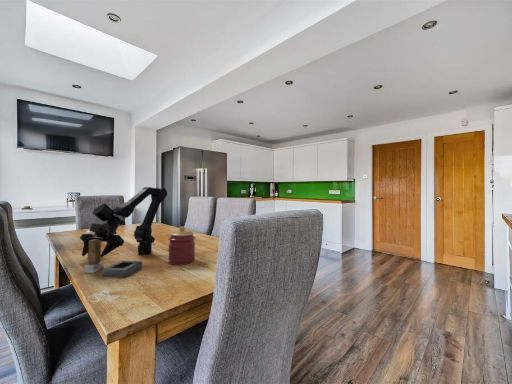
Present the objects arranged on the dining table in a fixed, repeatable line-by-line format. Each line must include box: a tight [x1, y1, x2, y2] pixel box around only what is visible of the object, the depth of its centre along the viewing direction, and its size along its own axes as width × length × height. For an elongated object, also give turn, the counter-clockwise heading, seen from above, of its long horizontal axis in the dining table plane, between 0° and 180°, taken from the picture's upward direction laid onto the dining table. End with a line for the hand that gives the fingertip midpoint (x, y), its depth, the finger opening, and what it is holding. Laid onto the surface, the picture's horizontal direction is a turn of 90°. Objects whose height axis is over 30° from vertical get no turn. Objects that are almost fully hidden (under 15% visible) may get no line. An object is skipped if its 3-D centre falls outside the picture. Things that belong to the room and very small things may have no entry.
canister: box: [168, 225, 196, 266], centre depth 120 cm, size 13×13×18 cm
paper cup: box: [85, 230, 103, 259], centre depth 127 cm, size 8×8×14 cm
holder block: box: [101, 260, 143, 278], centre depth 104 cm, size 12×10×3 cm
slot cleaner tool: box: [84, 239, 105, 274], centre depth 106 cm, size 6×4×14 cm, turn 172°
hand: (91, 256), depth 104 cm, fingers open, 9 cm apart
